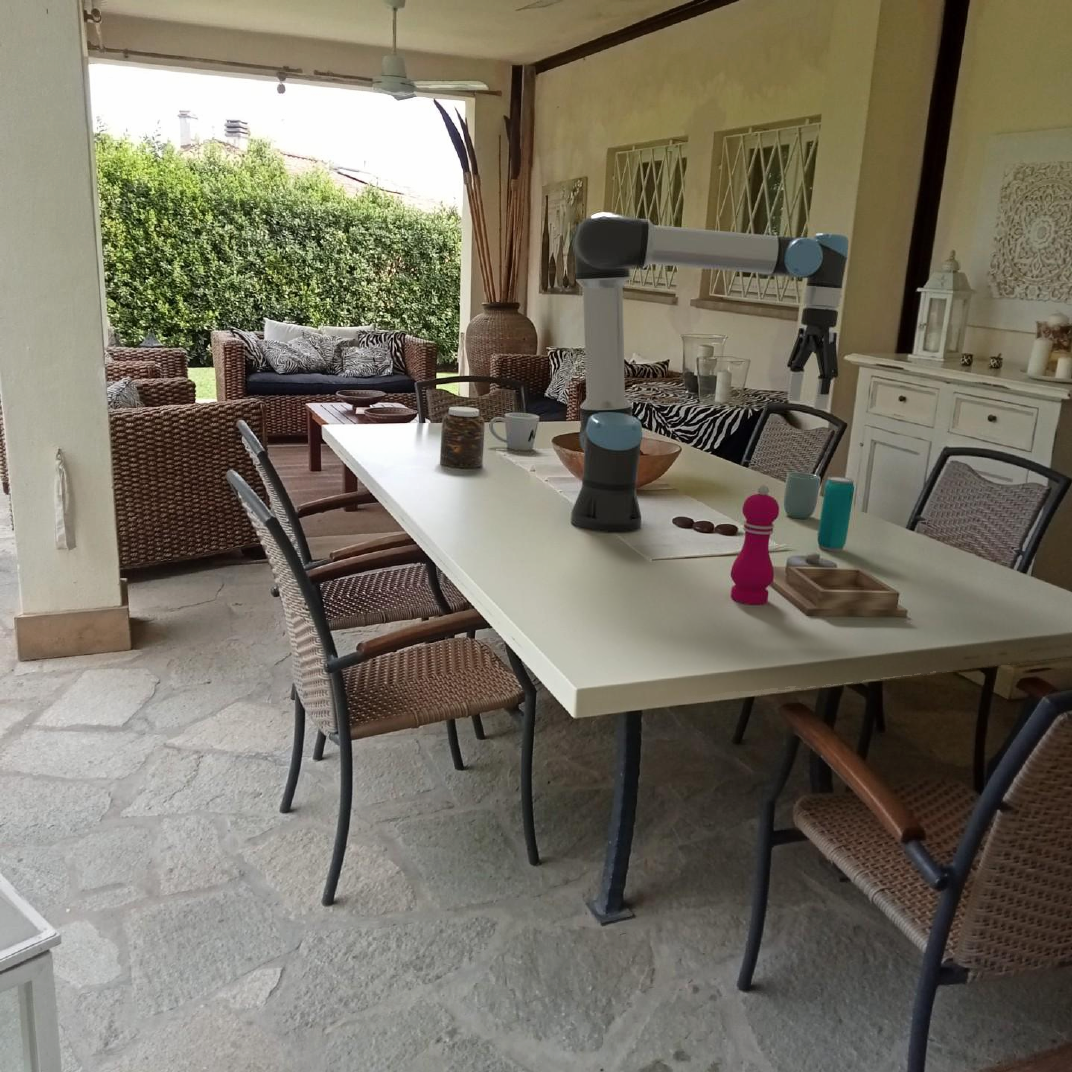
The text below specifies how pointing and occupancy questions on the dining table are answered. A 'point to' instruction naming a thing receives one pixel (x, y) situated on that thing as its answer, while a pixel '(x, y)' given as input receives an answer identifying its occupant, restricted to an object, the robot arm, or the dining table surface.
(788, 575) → the pulley board
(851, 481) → the beverage can
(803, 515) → the cup
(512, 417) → the mug
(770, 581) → the pepper mill
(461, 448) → the jar
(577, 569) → the dining table surface
